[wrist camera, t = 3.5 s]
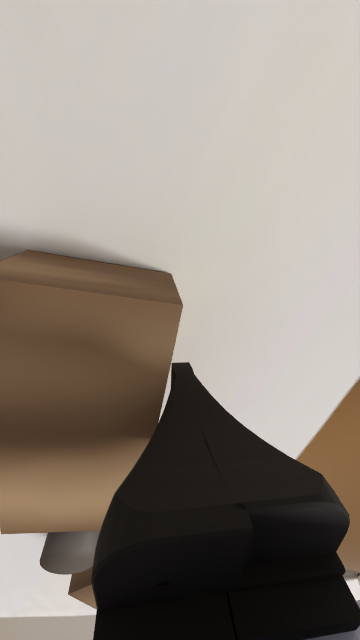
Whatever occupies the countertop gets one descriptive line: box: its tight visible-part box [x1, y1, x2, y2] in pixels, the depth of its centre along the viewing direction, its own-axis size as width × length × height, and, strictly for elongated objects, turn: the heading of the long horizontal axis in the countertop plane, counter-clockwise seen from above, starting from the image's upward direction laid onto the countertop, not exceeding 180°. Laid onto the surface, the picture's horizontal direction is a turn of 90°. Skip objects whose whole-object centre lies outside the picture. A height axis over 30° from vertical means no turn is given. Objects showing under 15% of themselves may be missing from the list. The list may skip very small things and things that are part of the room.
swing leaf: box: [0, 250, 183, 574], centre depth 12 cm, size 15×6×4 cm, turn 169°
